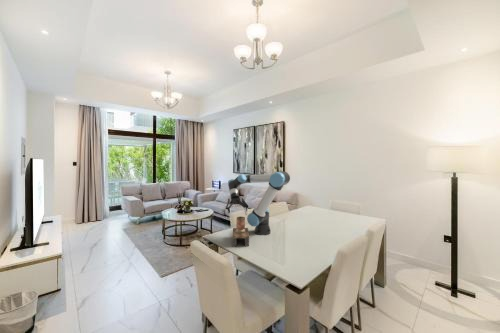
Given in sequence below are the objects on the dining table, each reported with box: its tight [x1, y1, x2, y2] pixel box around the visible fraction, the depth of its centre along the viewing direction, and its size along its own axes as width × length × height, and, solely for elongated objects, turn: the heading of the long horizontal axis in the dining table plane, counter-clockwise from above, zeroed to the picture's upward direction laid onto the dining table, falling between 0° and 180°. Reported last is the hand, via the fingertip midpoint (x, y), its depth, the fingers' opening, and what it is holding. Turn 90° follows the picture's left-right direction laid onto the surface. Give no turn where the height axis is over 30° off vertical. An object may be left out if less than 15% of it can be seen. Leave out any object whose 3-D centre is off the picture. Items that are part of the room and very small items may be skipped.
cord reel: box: [235, 216, 246, 233], centre depth 181 cm, size 7×7×12 cm
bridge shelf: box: [232, 227, 250, 247], centre depth 182 cm, size 13×20×8 cm, turn 3°
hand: (238, 215), depth 185 cm, fingers open, 13 cm apart
